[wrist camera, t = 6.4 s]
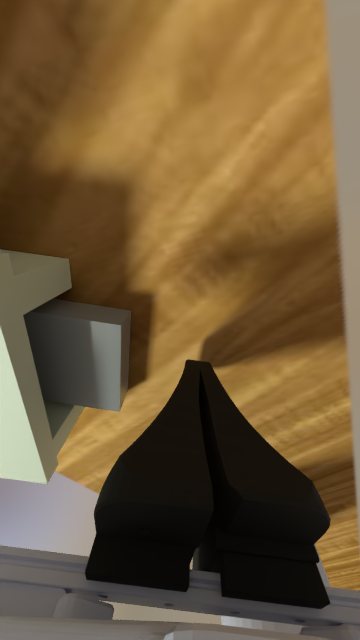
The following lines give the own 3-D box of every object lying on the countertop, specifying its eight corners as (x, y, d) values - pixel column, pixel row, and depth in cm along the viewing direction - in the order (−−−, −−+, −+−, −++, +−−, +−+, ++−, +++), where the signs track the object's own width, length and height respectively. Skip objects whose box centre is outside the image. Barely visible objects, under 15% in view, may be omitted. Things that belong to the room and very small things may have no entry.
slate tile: (129, 385, 14) (119, 411, 12) (-13, 364, 14) (-46, 387, 12) (133, 307, 12) (121, 325, 10) (-43, 280, 12) (-91, 293, 10)
